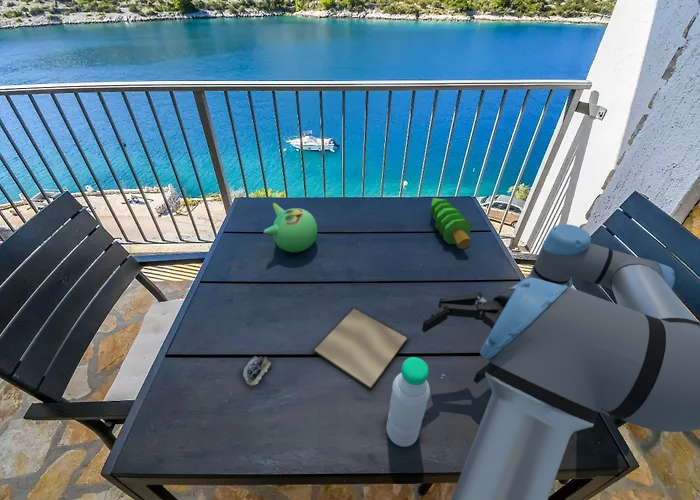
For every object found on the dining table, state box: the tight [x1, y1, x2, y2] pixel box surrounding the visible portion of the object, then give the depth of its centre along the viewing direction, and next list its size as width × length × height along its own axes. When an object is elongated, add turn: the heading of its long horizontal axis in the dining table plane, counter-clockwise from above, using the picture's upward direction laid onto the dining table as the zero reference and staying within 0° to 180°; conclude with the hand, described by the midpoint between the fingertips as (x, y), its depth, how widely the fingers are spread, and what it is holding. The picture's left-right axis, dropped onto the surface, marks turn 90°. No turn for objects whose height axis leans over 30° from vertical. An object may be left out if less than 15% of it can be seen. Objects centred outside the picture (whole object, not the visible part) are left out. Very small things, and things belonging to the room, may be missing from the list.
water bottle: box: [386, 356, 431, 448], centre depth 69 cm, size 7×7×25 cm
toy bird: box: [263, 202, 318, 253], centre depth 124 cm, size 18×17×15 cm
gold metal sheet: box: [313, 308, 408, 390], centre depth 94 cm, size 18×18×1 cm
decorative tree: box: [429, 197, 472, 250], centre depth 133 cm, size 11×12×30 cm
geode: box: [242, 355, 272, 387], centre depth 88 cm, size 7×8×2 cm
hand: (448, 351), depth 67 cm, fingers open, 13 cm apart
